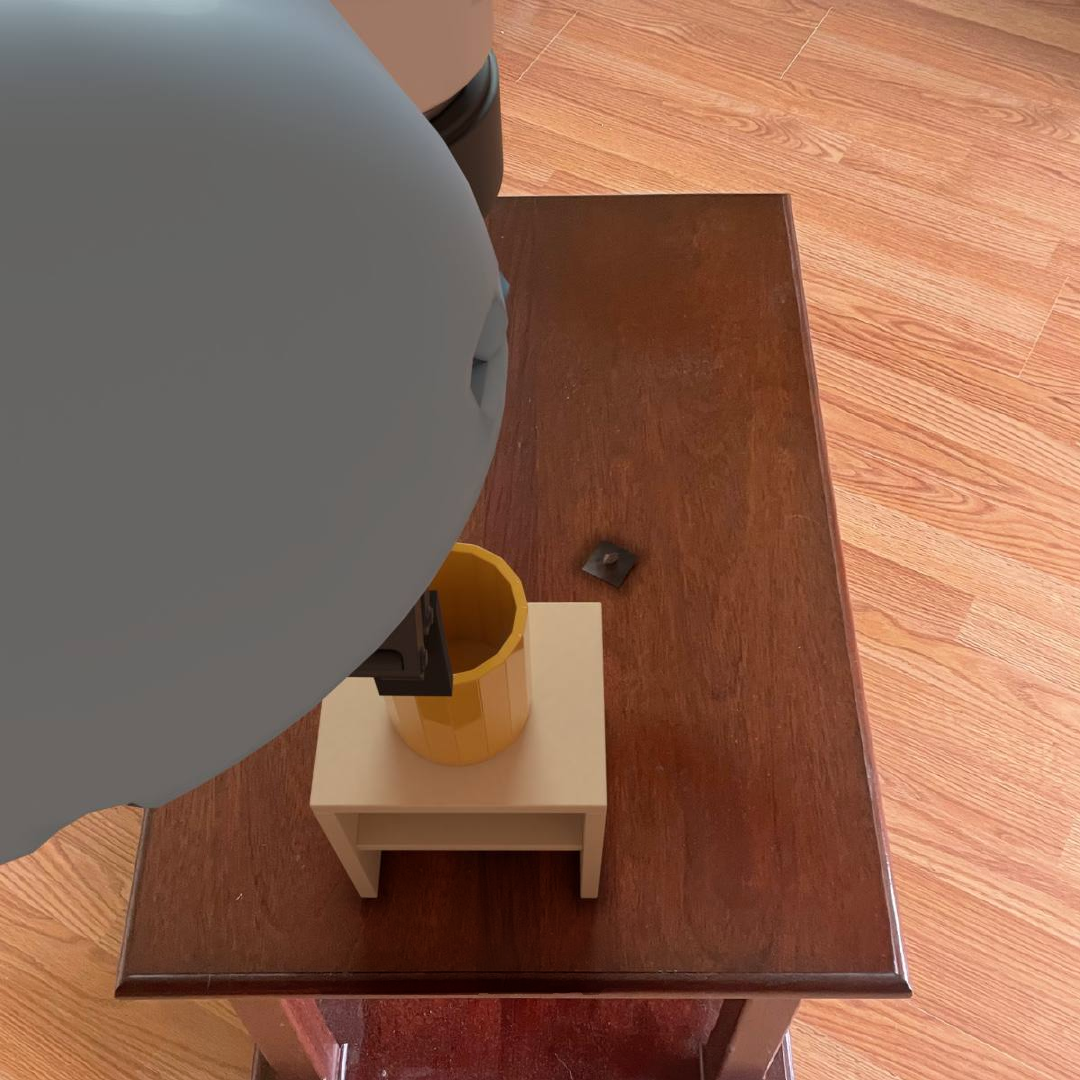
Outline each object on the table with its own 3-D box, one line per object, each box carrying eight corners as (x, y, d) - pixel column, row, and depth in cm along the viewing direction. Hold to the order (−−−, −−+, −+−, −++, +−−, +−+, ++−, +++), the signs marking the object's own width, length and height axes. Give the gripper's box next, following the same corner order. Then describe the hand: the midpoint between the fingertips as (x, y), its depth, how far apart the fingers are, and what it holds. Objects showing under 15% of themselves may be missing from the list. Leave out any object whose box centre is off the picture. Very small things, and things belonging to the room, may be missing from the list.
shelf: (360, 897, 65) (308, 806, 52) (376, 724, 71) (333, 602, 58) (597, 898, 65) (607, 806, 52) (593, 724, 71) (601, 601, 58)
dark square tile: (618, 588, 77) (618, 580, 75) (581, 569, 77) (580, 561, 76) (638, 556, 78) (638, 548, 77) (602, 538, 79) (601, 530, 77)
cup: (440, 794, 52) (420, 717, 45) (363, 686, 55) (332, 596, 48) (559, 712, 54) (559, 625, 47) (478, 612, 57) (466, 515, 50)
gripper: (470, 472, 20) (512, 839, 38) (514, -191, 34) (529, 309, 51) (62, 469, 20) (294, 835, 38) (268, -189, 34) (369, 309, 52)
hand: (429, 534), depth 45 cm, fingers open, 13 cm apart
